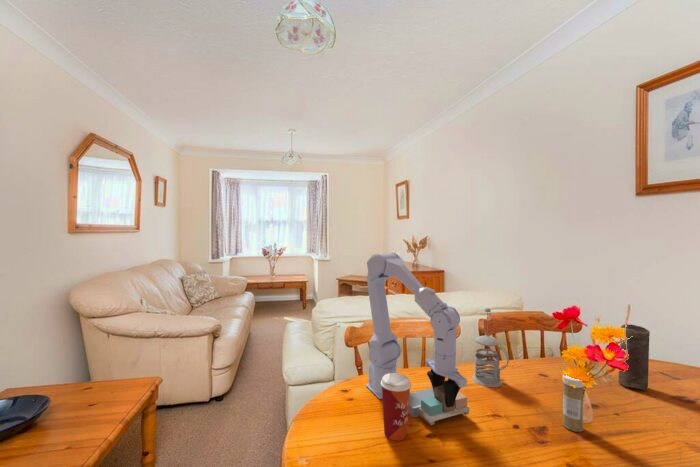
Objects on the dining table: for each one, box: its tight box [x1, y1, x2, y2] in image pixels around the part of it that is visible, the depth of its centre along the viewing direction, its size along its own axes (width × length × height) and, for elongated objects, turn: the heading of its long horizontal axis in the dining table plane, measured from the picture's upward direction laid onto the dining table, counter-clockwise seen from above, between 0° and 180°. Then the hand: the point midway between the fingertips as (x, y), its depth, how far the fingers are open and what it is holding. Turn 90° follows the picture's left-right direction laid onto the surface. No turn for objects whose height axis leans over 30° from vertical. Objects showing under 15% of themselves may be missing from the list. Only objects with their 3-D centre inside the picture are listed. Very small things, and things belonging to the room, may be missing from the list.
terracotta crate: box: [454, 391, 468, 409], centre depth 90 cm, size 4×4×2 cm
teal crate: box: [421, 397, 442, 416], centre depth 86 cm, size 4×4×2 cm
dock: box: [408, 387, 434, 418], centre depth 95 cm, size 8×15×3 cm, turn 114°
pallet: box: [419, 385, 470, 426], centre depth 88 cm, size 5×13×7 cm, turn 114°
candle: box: [618, 323, 650, 391], centre depth 107 cm, size 8×7×20 cm
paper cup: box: [381, 372, 412, 442], centre depth 81 cm, size 8×8×14 cm
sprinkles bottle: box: [562, 375, 585, 433], centre depth 84 cm, size 5×5×14 cm
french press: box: [471, 307, 510, 388], centre depth 110 cm, size 10×12×25 cm
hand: (444, 402), depth 88 cm, fingers closed on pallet, 4 cm apart
